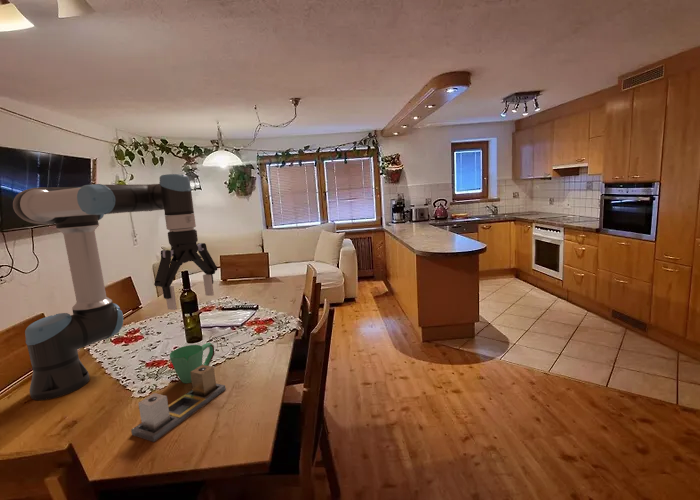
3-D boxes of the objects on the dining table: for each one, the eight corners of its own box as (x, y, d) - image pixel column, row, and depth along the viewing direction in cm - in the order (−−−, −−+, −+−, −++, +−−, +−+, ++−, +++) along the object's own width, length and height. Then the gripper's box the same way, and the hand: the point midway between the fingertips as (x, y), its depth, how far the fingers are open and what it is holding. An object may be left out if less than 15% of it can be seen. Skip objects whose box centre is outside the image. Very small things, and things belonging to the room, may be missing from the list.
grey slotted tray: (132, 436, 88) (131, 429, 88) (206, 386, 110) (205, 381, 110) (154, 443, 85) (153, 436, 85) (225, 390, 107) (225, 385, 106)
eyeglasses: (207, 348, 140) (205, 336, 140) (238, 335, 152) (236, 324, 152) (232, 356, 131) (231, 344, 130) (263, 341, 143) (262, 330, 142)
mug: (186, 391, 108) (181, 360, 107) (167, 384, 113) (162, 354, 112) (225, 369, 120) (221, 341, 119) (206, 364, 125) (202, 337, 124)
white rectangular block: (143, 431, 89) (138, 402, 88) (159, 421, 93) (154, 392, 92) (155, 435, 87) (150, 405, 86) (171, 424, 91) (166, 395, 90)
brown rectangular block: (193, 397, 104) (190, 371, 102) (205, 389, 108) (202, 364, 106) (205, 400, 102) (201, 373, 100) (217, 391, 106) (213, 366, 105)
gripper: (151, 235, 88) (163, 317, 91) (223, 224, 110) (231, 290, 113) (131, 235, 91) (144, 314, 94) (205, 225, 113) (214, 289, 116)
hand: (192, 301), depth 104 cm, fingers open, 13 cm apart
